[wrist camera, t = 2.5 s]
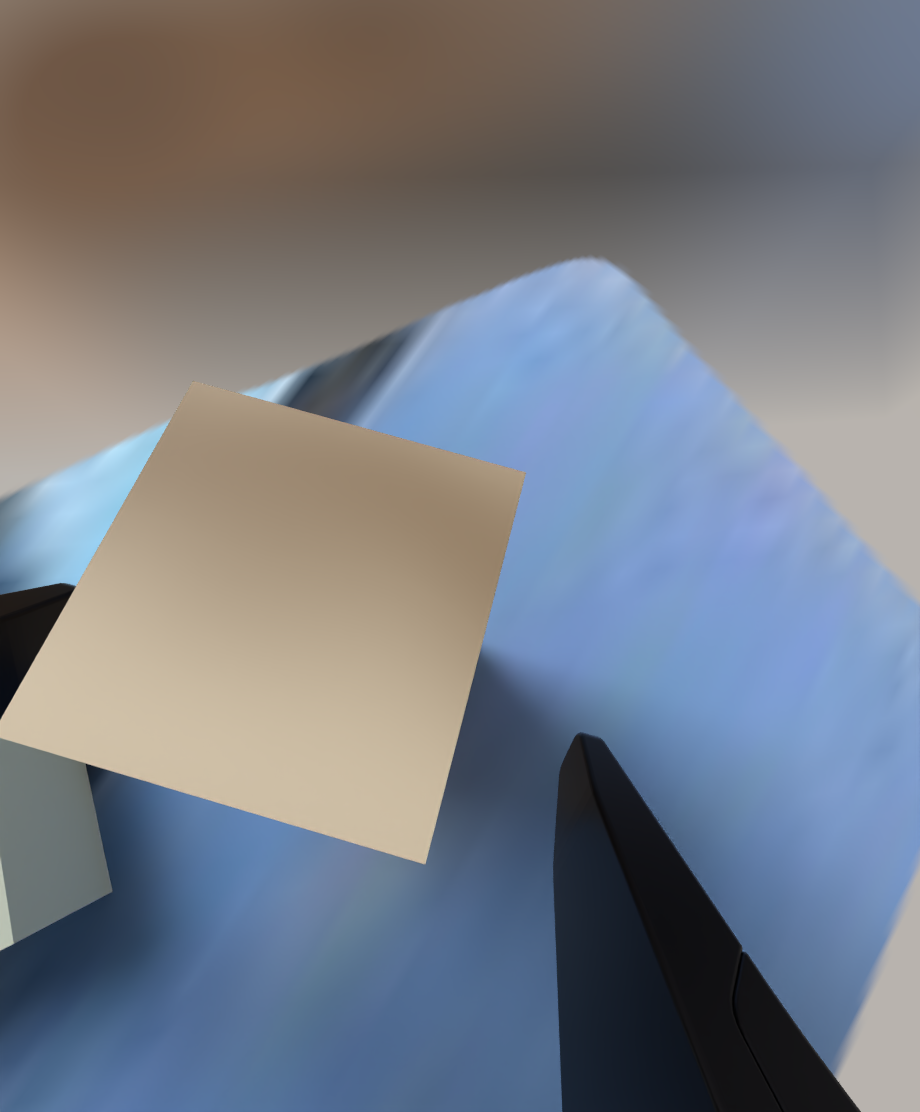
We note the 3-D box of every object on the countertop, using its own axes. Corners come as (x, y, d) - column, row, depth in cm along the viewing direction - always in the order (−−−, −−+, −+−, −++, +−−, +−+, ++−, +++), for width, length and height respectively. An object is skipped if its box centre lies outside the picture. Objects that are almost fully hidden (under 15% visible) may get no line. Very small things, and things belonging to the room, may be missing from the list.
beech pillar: (425, 766, 16) (425, 864, 5) (295, 728, 16) (-9, 734, 5) (461, 635, 18) (525, 472, 6) (341, 601, 18) (193, 381, 6)
